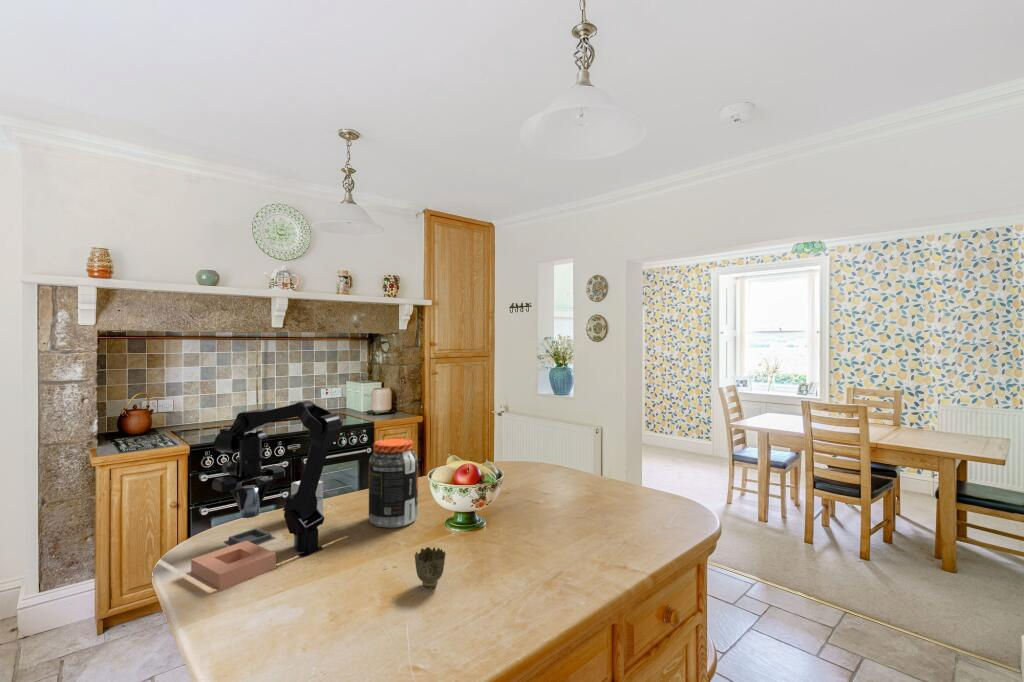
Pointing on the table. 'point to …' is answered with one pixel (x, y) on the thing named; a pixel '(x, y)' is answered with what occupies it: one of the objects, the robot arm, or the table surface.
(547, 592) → the table surface
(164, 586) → the table surface
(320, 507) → the supplement box
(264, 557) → the hub block
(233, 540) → the stand
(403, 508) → the supplement tub
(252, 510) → the steel peg
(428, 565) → the cup
